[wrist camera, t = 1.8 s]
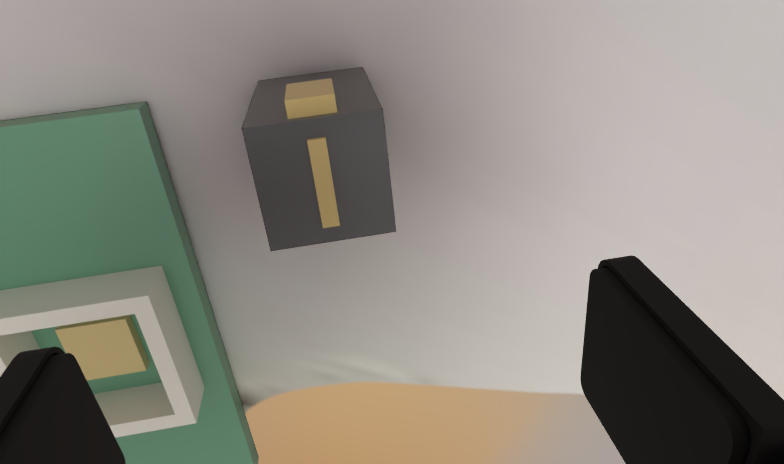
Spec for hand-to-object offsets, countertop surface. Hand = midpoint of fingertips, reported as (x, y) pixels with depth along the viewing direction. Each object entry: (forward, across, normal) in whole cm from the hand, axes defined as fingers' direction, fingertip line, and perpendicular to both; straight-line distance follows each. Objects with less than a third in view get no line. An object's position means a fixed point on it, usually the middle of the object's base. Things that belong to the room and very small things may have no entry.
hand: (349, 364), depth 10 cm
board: (+16, +15, +9) cm, 24 cm away
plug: (+16, 0, 0) cm, 16 cm away
